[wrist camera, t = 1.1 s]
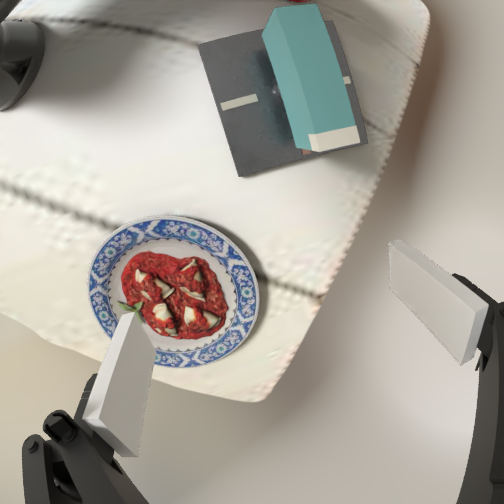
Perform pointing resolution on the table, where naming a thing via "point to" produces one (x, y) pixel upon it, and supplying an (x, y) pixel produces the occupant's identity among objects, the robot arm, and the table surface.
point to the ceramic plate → (175, 288)
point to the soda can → (299, 0)
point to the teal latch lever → (309, 78)
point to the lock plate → (261, 101)
